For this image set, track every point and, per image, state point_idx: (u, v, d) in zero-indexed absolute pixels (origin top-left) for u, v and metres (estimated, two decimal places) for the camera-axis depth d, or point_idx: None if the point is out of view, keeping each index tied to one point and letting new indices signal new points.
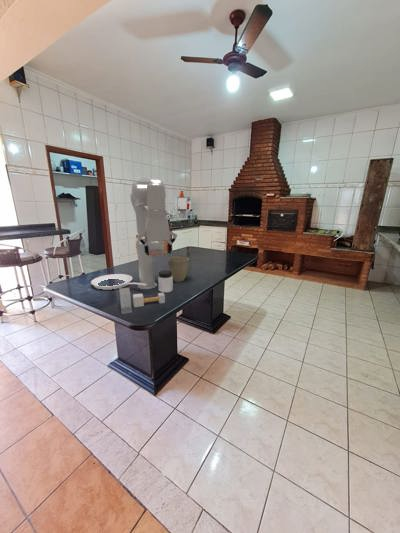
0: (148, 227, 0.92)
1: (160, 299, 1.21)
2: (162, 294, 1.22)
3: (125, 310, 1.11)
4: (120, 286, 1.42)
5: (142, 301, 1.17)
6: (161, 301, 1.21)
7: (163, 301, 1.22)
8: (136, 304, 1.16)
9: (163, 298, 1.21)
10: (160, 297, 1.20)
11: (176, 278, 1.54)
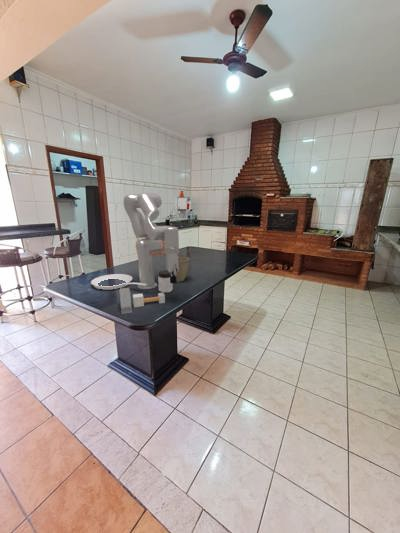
0: None
1: (160, 299, 1.21)
2: (162, 294, 1.22)
3: (125, 310, 1.11)
4: (120, 286, 1.42)
5: (142, 301, 1.17)
6: (161, 301, 1.21)
7: (163, 301, 1.22)
8: (136, 304, 1.16)
9: (163, 298, 1.21)
10: (160, 297, 1.20)
11: (176, 278, 1.54)
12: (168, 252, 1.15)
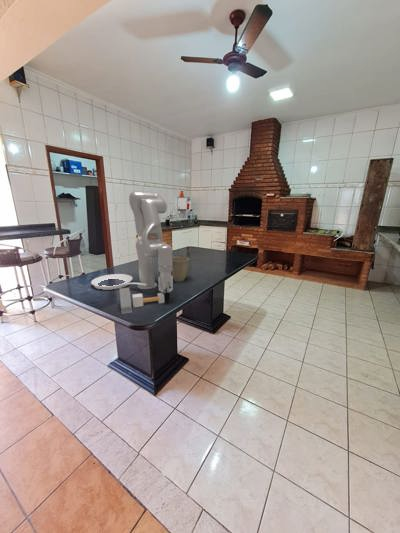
0: None
1: (160, 299, 1.21)
2: (162, 294, 1.22)
3: (125, 310, 1.11)
4: (120, 286, 1.42)
5: (141, 301, 1.17)
6: (161, 301, 1.21)
7: (163, 301, 1.22)
8: (135, 304, 1.16)
9: (163, 298, 1.21)
10: (160, 297, 1.20)
11: (176, 278, 1.54)
12: (161, 270, 1.16)
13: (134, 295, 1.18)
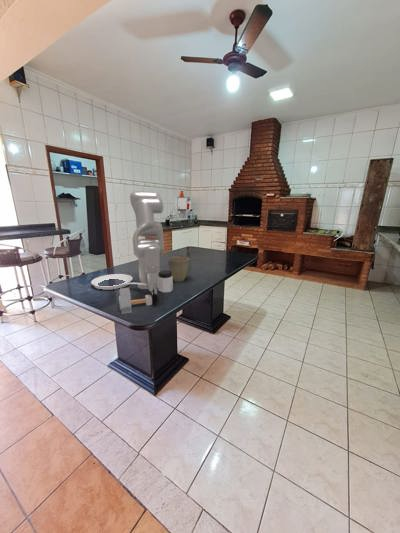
0: (158, 280, 1.15)
1: (147, 301, 1.18)
2: (149, 296, 1.19)
3: (125, 310, 1.11)
4: (120, 286, 1.42)
5: None
6: (148, 303, 1.18)
7: (150, 303, 1.19)
8: None
9: (150, 300, 1.18)
10: (147, 299, 1.18)
11: (176, 278, 1.54)
12: (148, 271, 1.14)
13: None
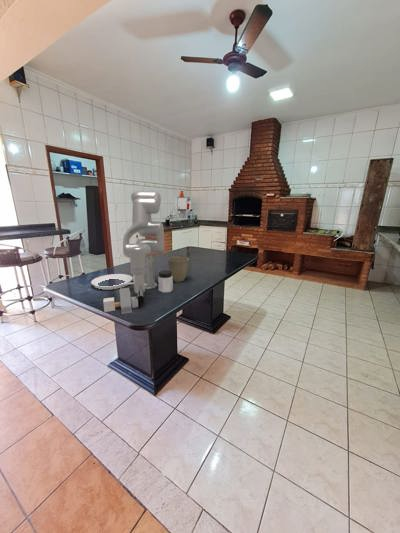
0: (144, 281, 1.13)
1: (133, 303, 1.15)
2: (135, 298, 1.17)
3: (125, 310, 1.11)
4: (120, 286, 1.42)
5: (113, 305, 1.12)
6: (134, 305, 1.16)
7: (136, 305, 1.16)
8: (106, 309, 1.11)
9: (136, 302, 1.16)
10: (133, 301, 1.15)
11: (176, 278, 1.54)
12: (134, 273, 1.11)
13: (105, 299, 1.12)
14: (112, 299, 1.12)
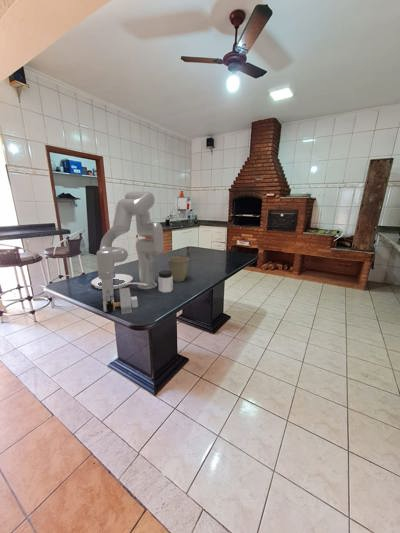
0: (112, 286, 1.08)
1: (132, 303, 1.15)
2: (135, 298, 1.17)
3: (125, 310, 1.11)
4: (120, 286, 1.42)
5: None
6: (133, 305, 1.16)
7: (136, 305, 1.16)
8: (106, 309, 1.11)
9: (136, 302, 1.16)
10: (132, 301, 1.15)
11: (176, 278, 1.54)
12: (101, 277, 1.06)
13: (105, 299, 1.12)
14: (112, 299, 1.12)
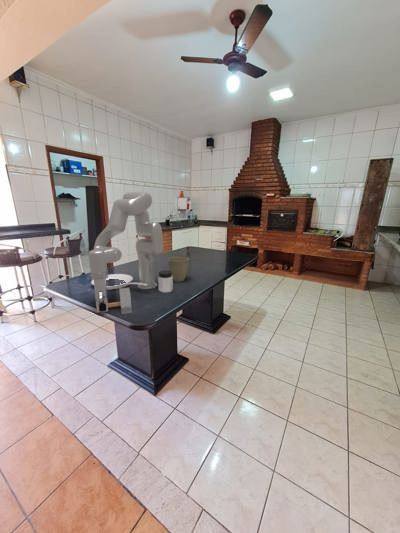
0: (105, 287, 1.07)
1: None
2: None
3: (125, 310, 1.11)
4: (120, 286, 1.42)
5: (106, 306, 1.11)
6: None
7: None
8: None
9: None
10: None
11: (176, 278, 1.54)
12: (93, 278, 1.05)
13: (98, 300, 1.11)
14: (105, 300, 1.12)
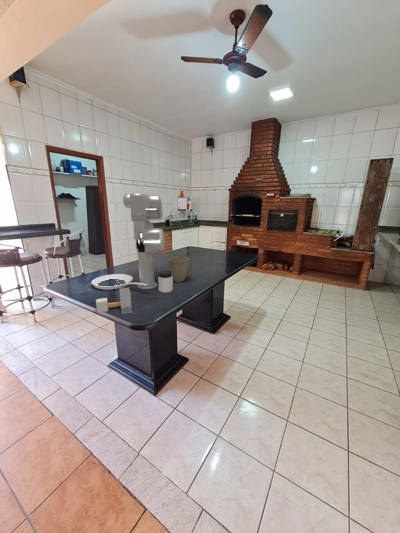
0: (144, 228, 1.14)
1: None
2: None
3: (125, 310, 1.11)
4: (120, 286, 1.42)
5: (106, 306, 1.11)
6: None
7: None
8: (99, 309, 1.10)
9: None
10: None
11: (176, 278, 1.54)
12: (134, 219, 1.12)
13: (98, 300, 1.11)
14: (105, 300, 1.12)
